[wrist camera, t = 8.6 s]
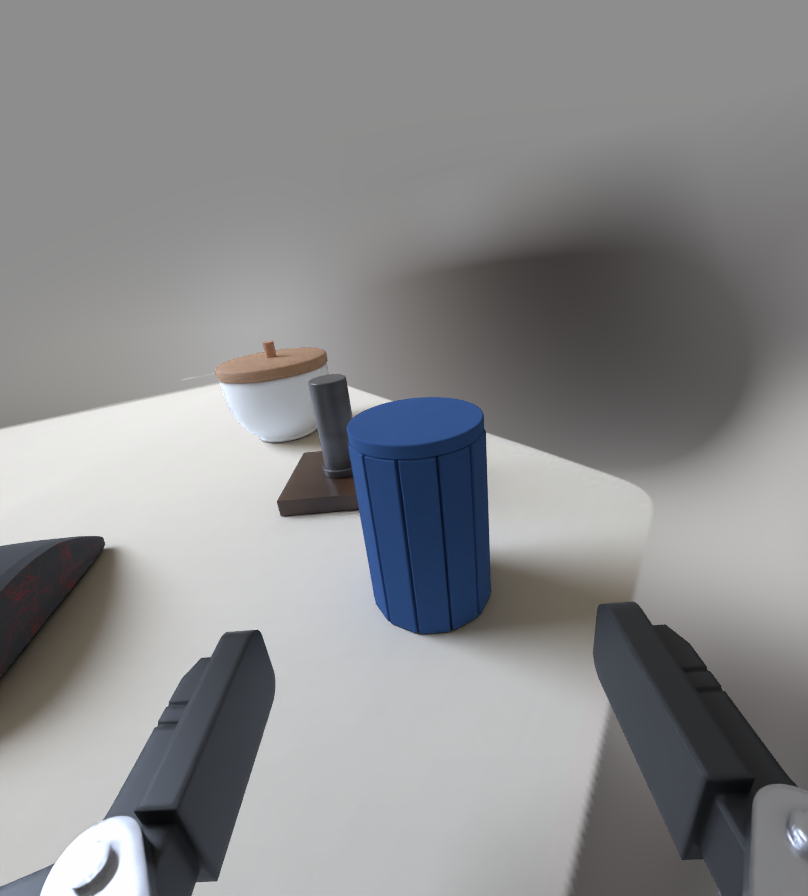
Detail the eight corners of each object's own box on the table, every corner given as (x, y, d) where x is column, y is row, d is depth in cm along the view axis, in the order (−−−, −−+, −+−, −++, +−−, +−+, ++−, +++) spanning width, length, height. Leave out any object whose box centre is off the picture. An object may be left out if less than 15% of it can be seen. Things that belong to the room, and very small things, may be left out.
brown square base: (399, 456, 36) (387, 360, 32) (396, 506, 28) (380, 388, 25) (306, 465, 36) (285, 371, 33) (280, 516, 29) (250, 402, 25)
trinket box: (277, 413, 51) (258, 334, 47) (356, 414, 47) (342, 329, 43) (212, 449, 42) (183, 355, 38) (303, 455, 38) (280, 351, 34)
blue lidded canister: (479, 548, 23) (473, 391, 20) (499, 628, 18) (495, 436, 14) (379, 556, 23) (355, 403, 20) (371, 638, 18) (336, 451, 15)
